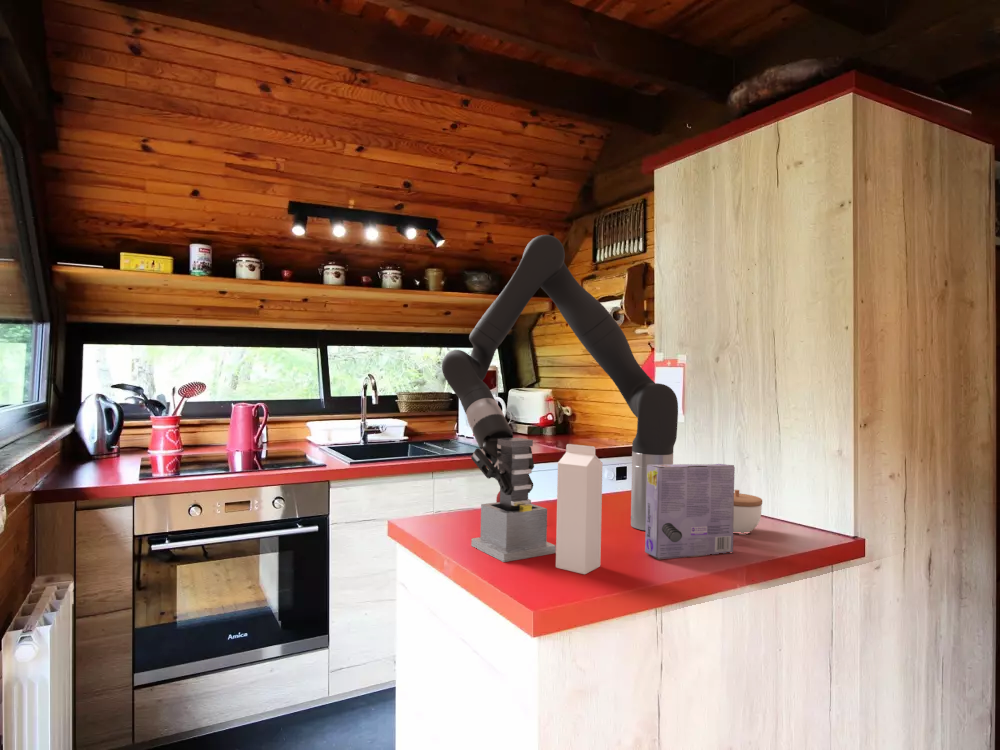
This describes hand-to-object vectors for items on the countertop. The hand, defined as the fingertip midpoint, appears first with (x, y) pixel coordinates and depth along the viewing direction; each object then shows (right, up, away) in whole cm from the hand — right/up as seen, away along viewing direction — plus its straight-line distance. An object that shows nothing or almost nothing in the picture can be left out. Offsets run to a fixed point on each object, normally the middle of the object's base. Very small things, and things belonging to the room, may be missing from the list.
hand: (519, 491), depth 118 cm
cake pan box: (+34, -13, +2) cm, 36 cm away
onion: (-2, -12, +31) cm, 33 cm away
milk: (+10, -12, -9) cm, 18 cm away
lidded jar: (+50, -13, +20) cm, 55 cm away
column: (-1, -9, +1) cm, 9 cm away
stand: (-1, -12, +2) cm, 12 cm away
